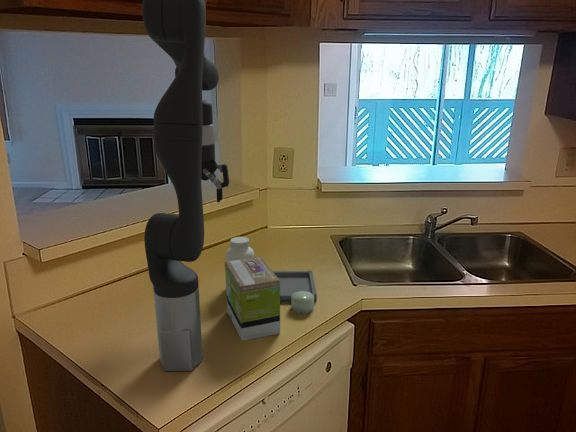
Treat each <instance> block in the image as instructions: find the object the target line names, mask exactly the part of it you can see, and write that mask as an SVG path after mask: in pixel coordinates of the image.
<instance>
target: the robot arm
mask: <svg viewBox="0 0 576 432" xmlns="http://www.w3.org/2000/svg"><path fill="white" fill-rule="evenodd" d="M206 8H207V7H206V2H205V0H142V9H141V12H142V14H141V15H142V22H143V26H144V28H145V31H146V33H147V35H148V36H149V38H150V39H151V40H152V41H153V42H154V43H155V44H156V45H157V46H159V48H160V49H162V50H163V51H164V52H165V53H166V54H167V55H168V56H169V57H170V59H172V61H173V62H174V64H175V66H176V67H175V69H174V79H173V80H172V82H171V83H170V85H169V86H168V88H167V89H166V91H165V92H164V94H163V96H161V98H160V100H159V102H158V103H157V105H156V107H155V110H154V113H153V147H154V152H155V153H156V154H155V155H156V157H157V159H158V160H159V162H160V165H161V166H162V168H163V169H164V171H165V172H166V174H167V176H168V178H169V180H170V182H171V184H172V186H173V188H174V191H175V195H176V199H177V200H176V201H177V205H178V206H177V207H178V208H177V209H178V213H177V214H176V213H175V214H174V213H167V212H158V213H157V212H156V213H154V214H152V216H151V217H150V218H148V221H147V222H146V224H145V228H144V237H143V238H144V250H145V258H146V263H147V271H148V277H149V280H150V282H151V285H152V289H153V297H154V298H153V299H154V309H155V310H154V311H155V320H156V321H155V322H156V333H157V344H158V353H159V354H158V356H159V363H160V366H161V367H162V371H163V372H187V371H188V372H192V371H193V370H194V368H195V367H197V366H198V365H199V364H200V363H201V362H202V361H203V357H204V356H203V355H204V354H203V340H202V325H201V323H202V322H201V306H200V287H199V286H200V285H199V284H200V283H199V276H198V273H197V272H196V271H195V270H194V269H192V268H190V267H189V266H187V265H186V264H184V263H185V262H186V263H193V262H196V261H197V260H198V259H199V257H200V256H201V254H202V252H203V249H204V244H205V219H204V205H203V203H204V202H203V192H202V191H203V189H202V181H208V180H210V182H211V183H212V184H213V185H214V186H215V187H216V192H215V193H216V203H220V202H221V201H222V200H223V198H224V197H223V195H224V194H223V188H227V187H229V184H230V179H229V178H230V177H229V167H228V163H227V162H225V163H220V164H218V163H217V162H216V145H215V144H216V143H215V141H216V137H215V129H214V122H213V121H214V119H213V116H214V115H213V105H212V103H211V101H209V100H205V99H203V91H204V92H205V91H207V92H208V91H212V90H214V89H215V88H216V87H217V86H218V83H219V80H220V79H219V78H220V76H219V70H218V67H217V66H216V64H215V63H214V62H213V60H212V59H211V58H209V57H208V56H206V55H205V40H206V29H207V9H206ZM217 170H219V172H220V173H222V177H223V178H222V180H223V181H221V180H220V179H219V177H218V176H217V175H216V173H215V172H216V171H217ZM183 262H184V263H183Z"/></svg>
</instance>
